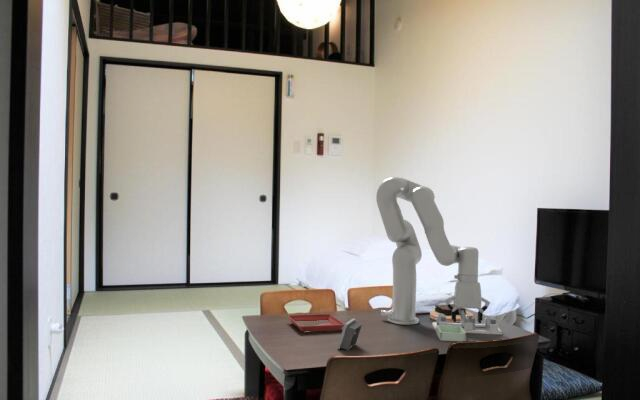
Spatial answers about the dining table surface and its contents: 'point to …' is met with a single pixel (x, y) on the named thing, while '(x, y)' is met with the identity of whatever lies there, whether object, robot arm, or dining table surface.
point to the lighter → (466, 320)
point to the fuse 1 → (441, 318)
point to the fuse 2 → (490, 321)
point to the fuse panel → (469, 327)
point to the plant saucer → (334, 321)
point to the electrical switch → (349, 334)
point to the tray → (450, 333)
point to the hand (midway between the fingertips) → (466, 321)
